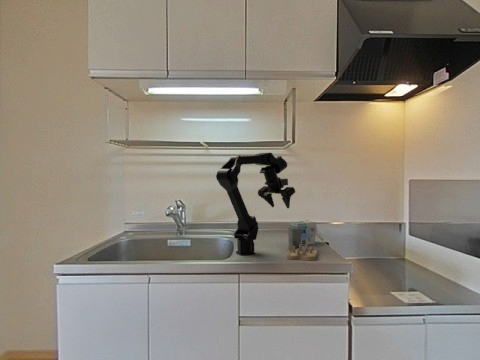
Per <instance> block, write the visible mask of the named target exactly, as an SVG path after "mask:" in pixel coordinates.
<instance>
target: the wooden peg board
mask: <svg viewBox="0 0 480 360" xmlns="http://www.w3.org/2000/svg"><path fill="white" fill-rule="evenodd" d="M304 246H305V247H304V248H303V245H299V248H297V249H295V246H293V249H291V250H289V252H288V254H287V255H286V258H287V259H286V260H301V261H316V259H317V256H318V250H316V249H314V250H313V246H310V247H309V244H308V245H304Z"/></svg>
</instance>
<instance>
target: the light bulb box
mask: <svg viewBox="0 0 480 360" xmlns="http://www.w3.org/2000/svg"><path fill="white" fill-rule="evenodd" d="M289 227H298V228H300V229H301V245H302V246H305V245H308V246H309V245H316V221H312V220H308V219H307V220H297V221H290V222H289Z"/></svg>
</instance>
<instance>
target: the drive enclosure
mask: <svg viewBox="0 0 480 360" xmlns="http://www.w3.org/2000/svg"><path fill="white" fill-rule="evenodd" d="M287 231H288V232H287V233H288V251H290V250H291V249H293V246H295V249H297V248H299V245H301V229H300V228H298V227H290V226H289V227H288V230H287Z"/></svg>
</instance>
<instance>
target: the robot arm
mask: <svg viewBox="0 0 480 360" xmlns="http://www.w3.org/2000/svg"><path fill="white" fill-rule="evenodd" d="M253 164H254V165H257V166H264V167H261V169H260V170H259V174H263V175H264V179H265V182H264V185H263V186H262V187H261V188H259V189H258V190H257V194H258V195H257V196H258V197H260V198H261V199H263V200H264V201H265V202H267V203H268V205H270V206H271V208H274V207H275V203H274V198H273V194H274V195H275V194H278V195H279V194H280V196H281V197H282V198H281V200H282V202H283V204H284V205H285V207H286V208H287V209H290V206H291V205H290V204H291V197H292V196H293V195H294V194H295V193H296V189H295V187H293V186H289V179H288V178H281V177H279V176H278V175H279V174H281V172H283V171H285V170H286V169H287V168H288V162H287V161H286V159H284V158H283V157H282V155H278V156H274V155H273V153H272V152H260V153H256V154H254V155H232V156H230V158H229V159H228V160H227V161H226V162H225V163H223V165H221V167H220V169H218V170H217V173H216V174H215V175H216V176H215V177H216V180H217V182H218V183H219V186H220V187H222V188H223V189H224V190H225V191H226V192H227V193H226V194H227V195H228V198H229V200H230V203H231V205H232V208H233V209H234V212H235V215H236V216H237V219H238V220H237V223H236V225H237V229H236V230H235V232H234V233H233V237H234V239H236V241H237V245H236V246H237V248H236V249H237V250H236V251H235V253H236V254H238V255H240V256H246V255H255V254H256V252H255V242H254V241H256V240H257V238H258V237H257V236H258V232H259V226H258V225H259V222H258V221H257V217H256V216H253V215H250V213H249V211H248V209H247V206H246V204H245V201H244V200H243V199H244V198H243V196H242V194H241V192H240V190H239V187H238V185H239V177H238V176H239V175H240V173H241V168H242V167H241V166H243V165H253ZM285 186H286V187H285ZM283 188H284V189H283Z"/></svg>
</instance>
